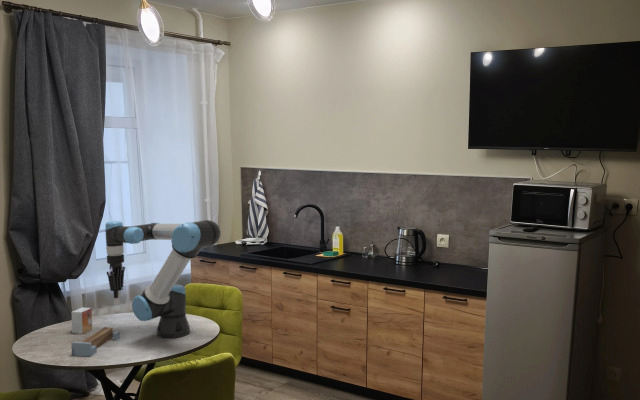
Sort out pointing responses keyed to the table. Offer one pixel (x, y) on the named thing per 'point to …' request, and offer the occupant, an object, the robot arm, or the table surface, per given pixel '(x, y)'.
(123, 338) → the table surface
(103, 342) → the slat
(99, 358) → the table surface
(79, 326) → the small box
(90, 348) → the end cap
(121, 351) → the table surface
